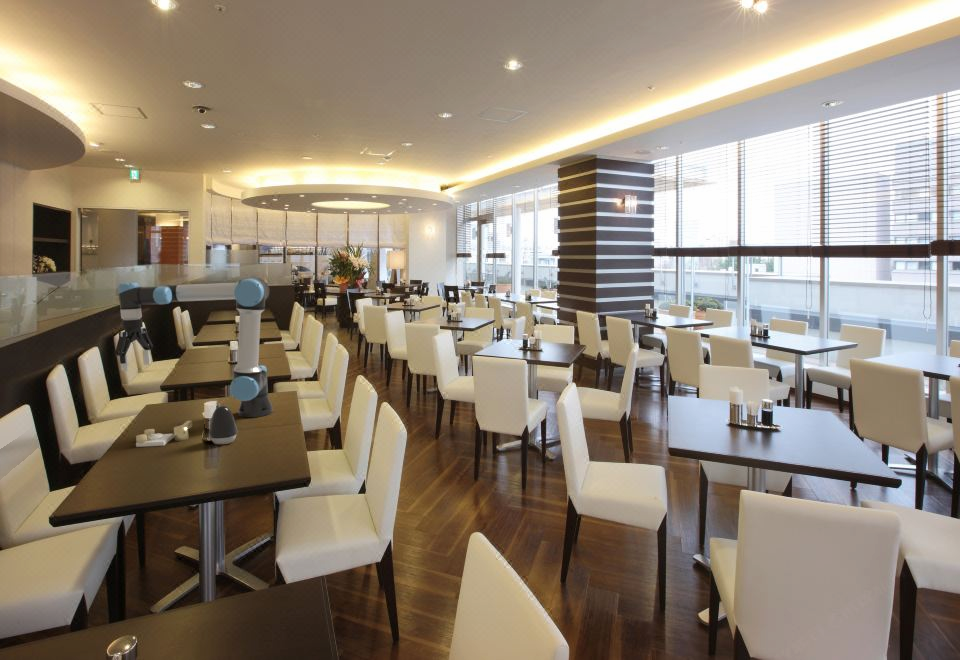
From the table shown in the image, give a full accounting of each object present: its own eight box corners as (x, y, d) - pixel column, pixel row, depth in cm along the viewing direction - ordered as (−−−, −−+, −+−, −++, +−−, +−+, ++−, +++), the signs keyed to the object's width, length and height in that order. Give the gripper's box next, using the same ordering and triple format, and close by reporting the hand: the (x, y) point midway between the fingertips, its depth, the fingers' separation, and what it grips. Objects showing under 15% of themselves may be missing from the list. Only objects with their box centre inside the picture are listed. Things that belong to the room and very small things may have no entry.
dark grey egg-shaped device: (232, 436, 224) (229, 401, 222) (242, 442, 216) (239, 405, 214) (206, 442, 217) (203, 405, 215) (215, 449, 209) (212, 411, 207)
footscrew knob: (185, 440, 218) (185, 428, 217) (172, 441, 217) (171, 429, 216) (196, 431, 229) (195, 419, 229) (184, 431, 229) (183, 420, 228)
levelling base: (177, 435, 226) (177, 425, 225) (163, 446, 212) (162, 436, 211) (151, 436, 224) (150, 426, 224) (135, 448, 210) (134, 437, 210)
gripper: (143, 315, 243) (147, 362, 246) (101, 322, 219) (106, 373, 222) (159, 315, 243) (163, 362, 246) (118, 322, 218) (124, 373, 221)
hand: (136, 367), depth 234 cm, fingers open, 13 cm apart
